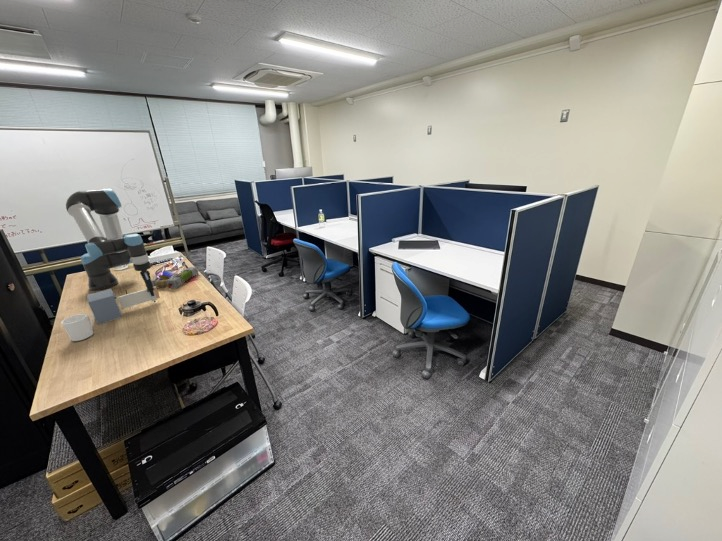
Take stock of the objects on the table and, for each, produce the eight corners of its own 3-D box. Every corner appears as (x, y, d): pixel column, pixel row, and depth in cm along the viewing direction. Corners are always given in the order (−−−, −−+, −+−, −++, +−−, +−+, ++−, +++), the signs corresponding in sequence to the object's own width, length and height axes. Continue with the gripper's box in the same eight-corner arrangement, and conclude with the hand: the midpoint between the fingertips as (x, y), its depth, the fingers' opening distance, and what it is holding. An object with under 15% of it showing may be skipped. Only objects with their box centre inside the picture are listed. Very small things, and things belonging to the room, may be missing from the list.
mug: (74, 344, 134) (64, 326, 130) (67, 339, 138) (58, 320, 134) (103, 332, 142) (95, 314, 138) (96, 327, 147) (88, 310, 143)
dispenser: (96, 315, 158) (87, 294, 153) (120, 308, 164) (112, 288, 159) (97, 324, 149) (88, 302, 144) (123, 316, 156) (114, 295, 151)
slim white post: (121, 308, 160) (117, 296, 157) (159, 297, 171) (156, 286, 168) (122, 308, 159) (117, 297, 156) (160, 297, 170) (156, 287, 168)
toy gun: (175, 275, 211) (201, 274, 209) (147, 291, 186) (177, 290, 184) (172, 266, 208) (198, 265, 207) (144, 281, 183) (174, 280, 182)
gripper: (131, 260, 163) (144, 297, 172) (134, 267, 153) (148, 306, 162) (147, 257, 167) (159, 293, 176) (151, 263, 157) (164, 301, 166)
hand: (154, 299), depth 169 cm, fingers closed on slim white post
